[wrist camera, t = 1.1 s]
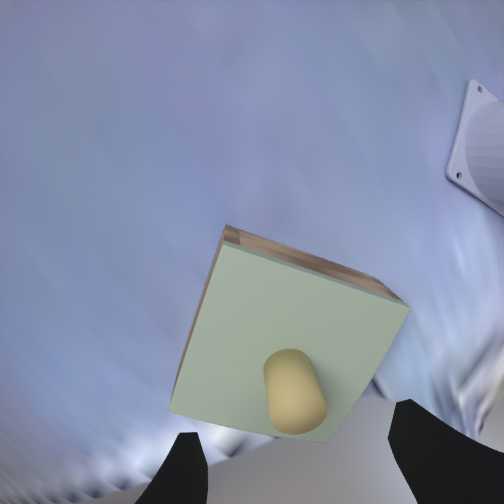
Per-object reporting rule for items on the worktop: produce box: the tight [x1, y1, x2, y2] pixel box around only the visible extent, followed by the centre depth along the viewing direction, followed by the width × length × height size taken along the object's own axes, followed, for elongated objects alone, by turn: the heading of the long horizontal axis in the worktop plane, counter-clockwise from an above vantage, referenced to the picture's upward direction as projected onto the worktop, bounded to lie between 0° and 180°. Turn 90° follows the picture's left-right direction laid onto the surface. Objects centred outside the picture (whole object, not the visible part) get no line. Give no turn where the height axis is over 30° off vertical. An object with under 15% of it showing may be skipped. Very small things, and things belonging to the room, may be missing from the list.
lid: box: [168, 240, 410, 443], centre depth 14 cm, size 10×10×4 cm
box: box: [171, 225, 404, 398], centre depth 18 cm, size 10×10×4 cm
